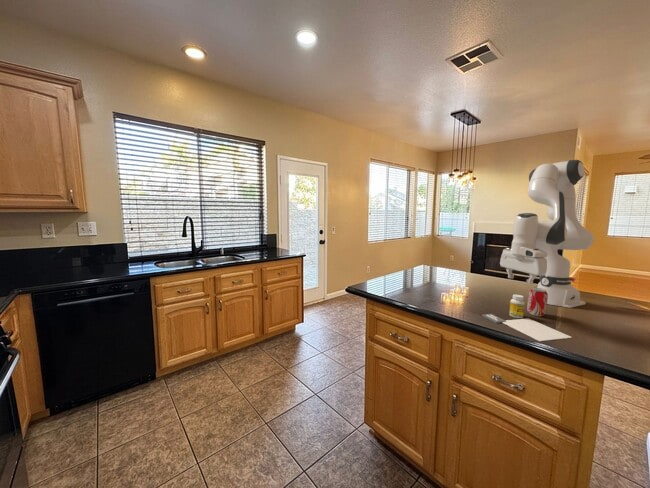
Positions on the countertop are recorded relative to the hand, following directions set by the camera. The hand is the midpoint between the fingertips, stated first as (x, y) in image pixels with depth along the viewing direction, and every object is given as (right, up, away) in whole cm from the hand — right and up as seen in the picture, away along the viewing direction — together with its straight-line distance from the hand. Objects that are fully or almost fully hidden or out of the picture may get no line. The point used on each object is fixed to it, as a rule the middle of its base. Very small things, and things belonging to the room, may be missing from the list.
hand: (519, 280), depth 125 cm
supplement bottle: (0, -17, +2) cm, 17 cm away
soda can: (+11, -16, +5) cm, 20 cm away
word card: (-12, -17, -1) cm, 21 cm away
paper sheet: (-2, -18, -11) cm, 21 cm away
